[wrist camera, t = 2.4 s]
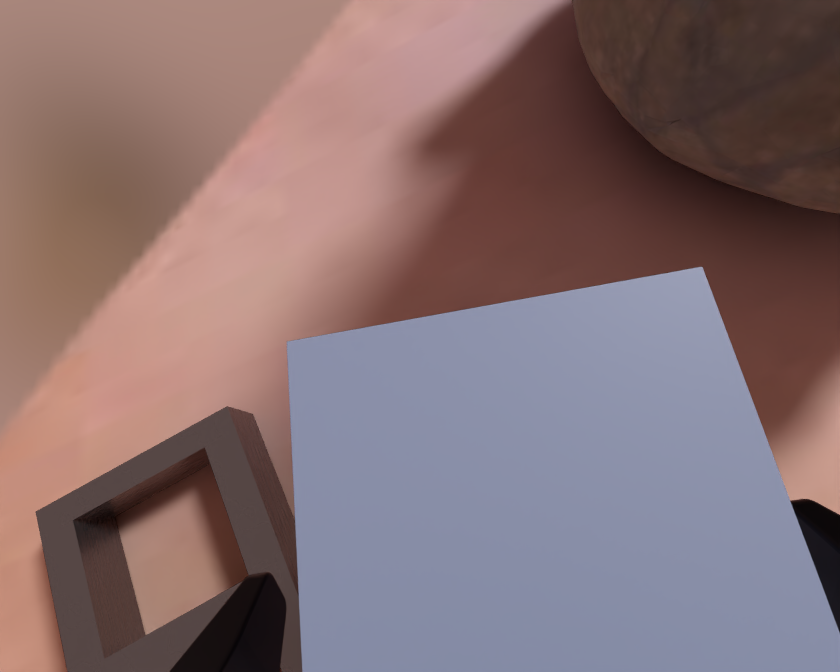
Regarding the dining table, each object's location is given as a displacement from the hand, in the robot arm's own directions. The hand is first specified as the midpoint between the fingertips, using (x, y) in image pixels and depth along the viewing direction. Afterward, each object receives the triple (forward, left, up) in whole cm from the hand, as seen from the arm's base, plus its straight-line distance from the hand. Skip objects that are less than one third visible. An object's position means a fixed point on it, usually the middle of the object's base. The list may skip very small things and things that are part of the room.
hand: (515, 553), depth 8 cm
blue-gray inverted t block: (+1, 0, -9) cm, 9 cm away
